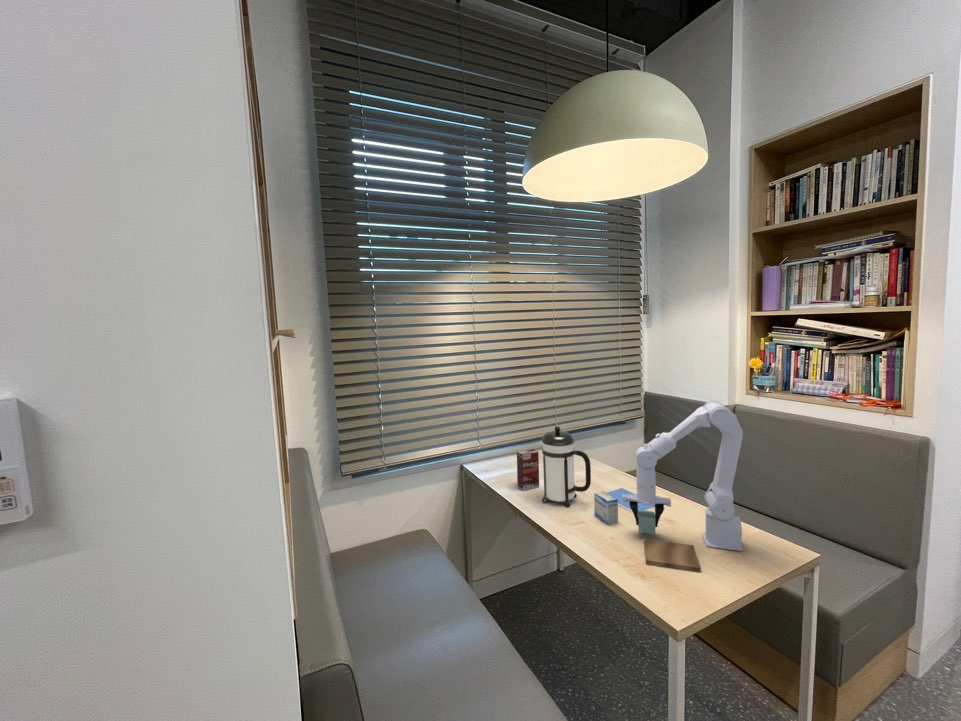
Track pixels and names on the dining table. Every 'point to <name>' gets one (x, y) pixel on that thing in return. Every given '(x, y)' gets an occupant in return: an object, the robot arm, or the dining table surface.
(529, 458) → the supplement box
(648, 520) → the teal cube
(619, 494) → the tablet computer
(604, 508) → the medicine box
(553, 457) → the coffee press
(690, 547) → the walnut board
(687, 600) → the dining table surface
